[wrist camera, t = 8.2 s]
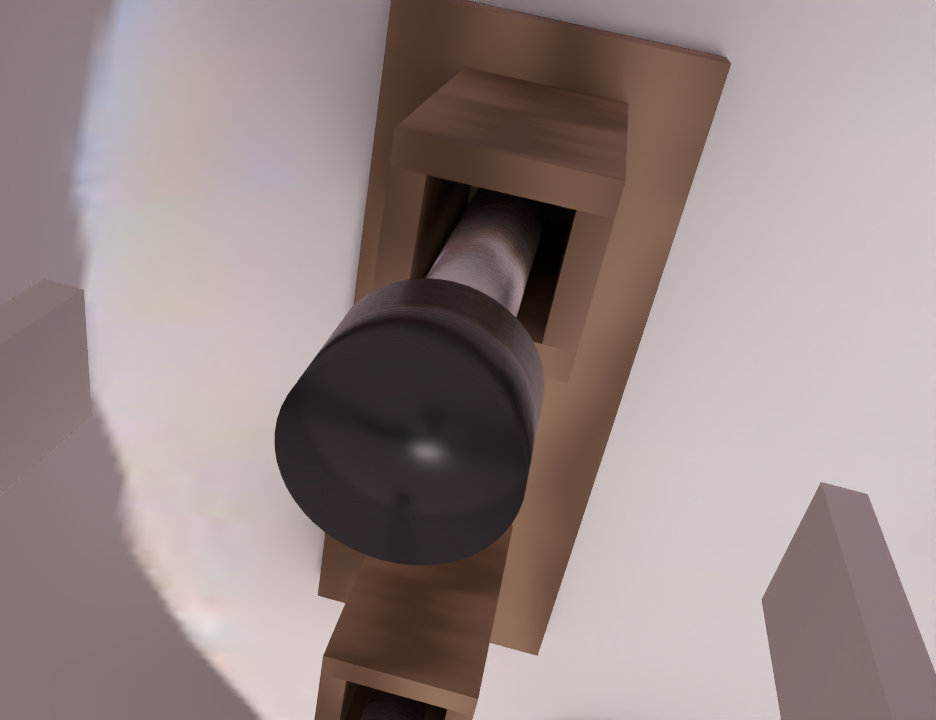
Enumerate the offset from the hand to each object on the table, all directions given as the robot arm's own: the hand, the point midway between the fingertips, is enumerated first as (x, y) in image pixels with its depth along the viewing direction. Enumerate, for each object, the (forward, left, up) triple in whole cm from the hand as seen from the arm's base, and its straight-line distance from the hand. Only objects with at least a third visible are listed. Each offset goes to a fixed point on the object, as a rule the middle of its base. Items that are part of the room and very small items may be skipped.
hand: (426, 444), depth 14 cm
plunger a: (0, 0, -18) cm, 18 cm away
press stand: (0, +10, -20) cm, 23 cm away
